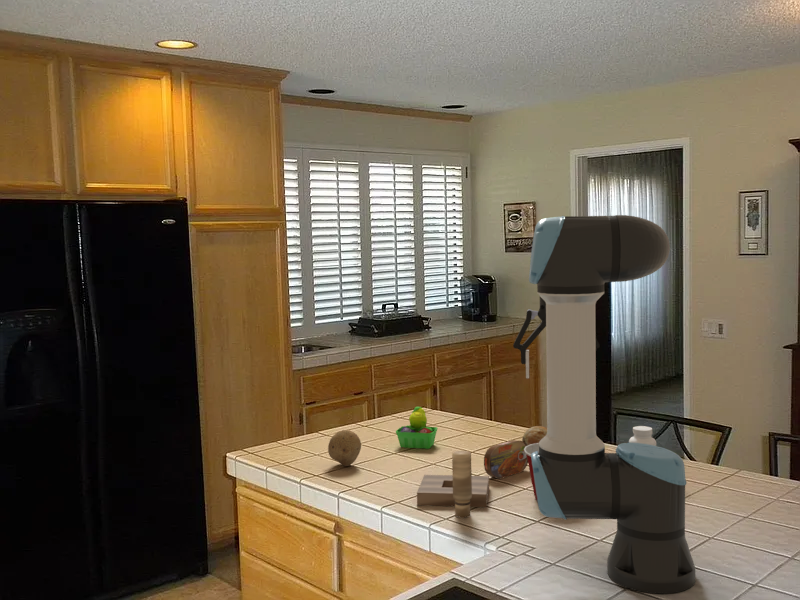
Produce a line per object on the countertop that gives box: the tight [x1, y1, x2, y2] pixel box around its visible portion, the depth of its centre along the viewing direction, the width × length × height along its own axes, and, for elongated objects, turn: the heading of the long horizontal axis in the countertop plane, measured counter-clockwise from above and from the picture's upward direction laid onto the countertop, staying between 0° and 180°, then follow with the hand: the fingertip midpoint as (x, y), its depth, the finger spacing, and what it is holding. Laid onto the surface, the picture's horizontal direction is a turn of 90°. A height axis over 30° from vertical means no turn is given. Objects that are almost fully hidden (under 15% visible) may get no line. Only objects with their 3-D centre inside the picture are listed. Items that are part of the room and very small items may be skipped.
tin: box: [483, 439, 529, 480], centre depth 205 cm, size 15×3×8 cm, turn 129°
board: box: [416, 474, 490, 508], centre depth 188 cm, size 14×16×3 cm
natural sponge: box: [327, 429, 362, 467], centre depth 216 cm, size 9×9×10 cm
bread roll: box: [521, 425, 547, 446], centre depth 231 cm, size 10×10×8 cm
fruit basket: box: [395, 406, 438, 450], centre depth 236 cm, size 11×9×11 cm
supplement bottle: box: [628, 425, 657, 446], centre depth 198 cm, size 7×7×13 cm
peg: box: [451, 450, 473, 519], centre depth 175 cm, size 4×4×14 cm
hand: (556, 377), depth 189 cm, fingers open, 13 cm apart
